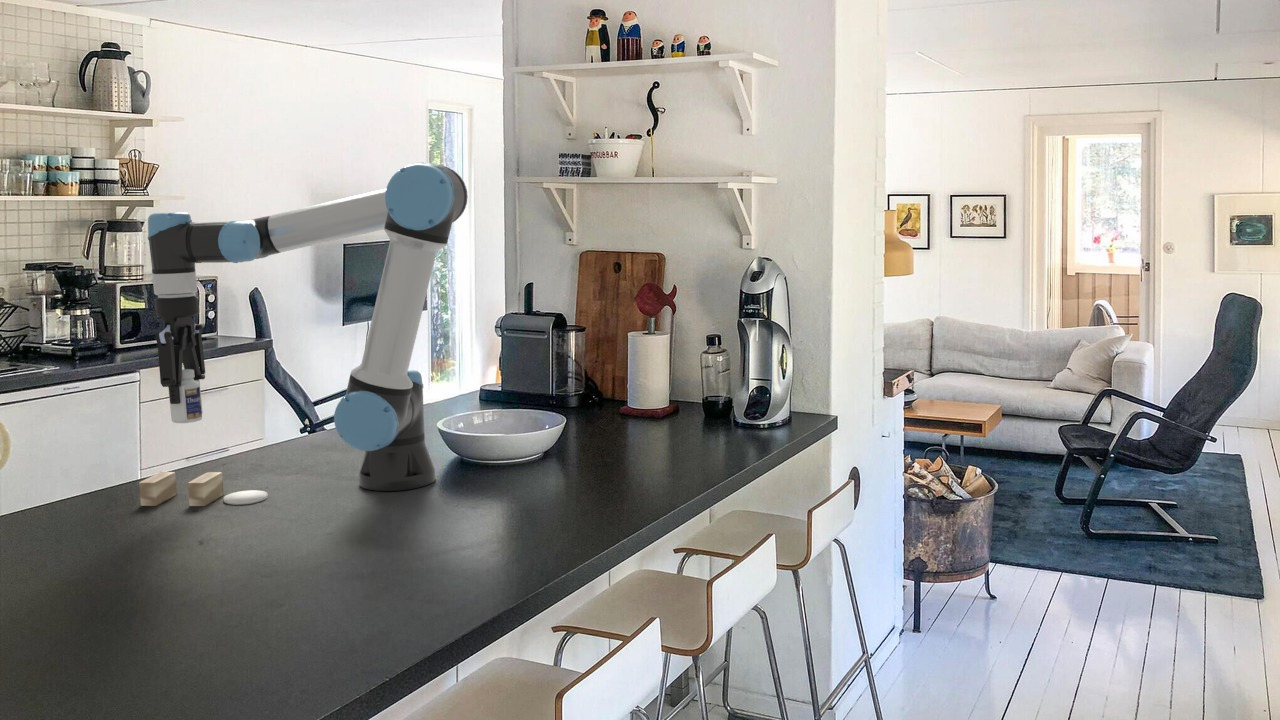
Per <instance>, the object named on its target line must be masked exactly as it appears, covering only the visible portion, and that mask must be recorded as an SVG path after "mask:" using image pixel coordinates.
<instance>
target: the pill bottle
mask: <svg viewBox="0 0 1280 720" xmlns="http://www.w3.org/2000/svg"><path fill="white" fill-rule="evenodd" d="M194 377H195V375H194V370H193V369H184V368H182V381H181V386H184V388H185V399H186V410H187V420H186V421H172V420H171V422H172V423H173V424H174V423H175V424H189V423H196V422H199V421H202V420H203V413H202V412H203V409H202V410H201V401H202V397H201V398H200V390H201V385H200V386H199V383H198V382H197V381H195V380H194Z"/></svg>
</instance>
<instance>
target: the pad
mask: <svg viewBox="0 0 1280 720" xmlns="http://www.w3.org/2000/svg"><path fill="white" fill-rule="evenodd" d="M268 498H269V496H268V492H267V491H264V490H257V489H255V490H253V489H252V490H249V489H248V490H241V491H236V492H235V491H234V492H231V493H229V494H226V495H225V496H224V495H223V503H225V504H227V505H233V506H234V505H236V506H239V505H240V506H241V505H242V506H243V505H251V504H256V503H259V502H262V501H265V500H267V499H268Z"/></svg>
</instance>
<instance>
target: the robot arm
mask: <svg viewBox="0 0 1280 720" xmlns="http://www.w3.org/2000/svg"><path fill="white" fill-rule="evenodd" d="M468 197H469V196H468V189H467V186H466V183H465V181H464V180H463V178H462V177H461V176H460V174H459V173H458V172H457V171H455V170H454V169H452V168H450V167H448V166H445V165H439V164H432V163H427V162H416V163H411V164H409V165H406V166H404V167H402V168H400V169H398V170H397V171H396V172H395V173H394V174H393V175H392V176H391V177H390V179H389V181H388V183H387V185H386V188H383V189H379V190H375V191H371V192H367V193H362V194H357V195H353V196H348V197H344V198H340V199H336V200H331V201H327V202H322V203H320V204H319V203H318V204H314V205H309V206H306V207H302V208H297V209H293V210H288V211H284V212H280V213H276V214H272V215H266V216H261V217H257V218H253V219H248V220H231V221H212V222H196V221H195V222H193V220H192V218H191V214H190V213H189V212H184V211H183V212H155V213H152V214H150V215H149V216H148V218H147V234H148V235H147V240H148V245H149V253H150V261H151V273H152V279H151V283H152V284H153V294H154V295H155V296H157V297H156V298H155V299H154V309H155V316H156V317H157V318H160V319H163V325H162V327H163V329H162V331H157V332H155V334H154V336H155V337H154V338H155V341H156V344H157V354H158V366H159V367H158V368H159V378H160V379H159V380H160V385H161V386H162V387H163V388H168V397H169V407H170V409H169V410H170V420H171V422H172V421H186V420H187V410H186V399H185V388H184V386H181V381H182V369H193V370H194V375H195V377H194V380H195V381H197V382H198V383H199V386H200V387H201V382H200V381H201V380H205V378H206V375H205V374H206V366H205V365H206V364H205V356H204V346H203V337H202V335H203V334H202V333H203V325H202V324H199V323H198V324H197V323H195V322H194V319H193V317H195V316H197V315H199V313H200V306H199V297H198V296H197V295H195V294H196V293H197V292H198V282H197V275H196V274H197V271H196V264H205V263H207V264H208V263H214V264H215V263H216V264H217V263H233V264H239V263H247V262H252V261H254V260H257V259H264V258H267V257H269V256H272V255H277V254H280V253H284V252H289V251H294V250H298V249H302V248H306V247H313V246H315V245H320V244H325V243H329V242H330V243H331V242H334V241H338V240H342V239H347V238H351V237H357V236H360V235H365V234H369V233H374V232H379V231H383V230H384V232H385V233H386V235H387V237H388V238H389V242H388V243H389V244H388V248H387V253H386V256H385V257H386V258H385V260H384V265H383V266H384V267H383V269H382V274H381V277H380V282H379V287H378V291H377V295H376V299H375V305H374V308H373V312H372V317H371V321H370V326H369V329H368V334H367V338H366V343H365V347H364V351H363V356H362V360H361V364H360V365H357V366H355V368H353V369H351V371H350V375H349V379H348V383H347V388H346V392H345V395H344V396H343V397H341V399H340V401H339V402H338V403H337V405H336V407H335V410H334V413H333V415H334V416H333V422H334V427H335V430H336V432H337V434H338V435H339V437H340V438H341V440H343V442H344V443H346V444H347V445H348V446H350V447H351V448H353V449H356V450H359V451H364V453H363V456H362V457H363V458H362V462H361V464H360V468H359V471H358V484H359V486H360V487H361V488H363V489H366V490H369V491H376V492H379V491H380V492H386V491H387V492H392V491H395V492H398V491H405V490H412V489H413V490H414V489H419V488H422V487H425V486H428V485H430V484H432V483H434V482H435V481H436V471H435V470H436V468H435V465H434V463H433V461H432V458H431V455H430V452H429V450H428V447H427V444H426V440H425V437H426V436H425V435H426V434H425V416H424V415H425V413H424V384H423V378H422V373H420V372H419V371H418V370H414V369H413V370H412V369H409V367H410V363H411V359H412V355H413V353H414V352H413V351H414V348H415V344H416V339H417V335H418V331H419V326H420V322H421V318H422V313H423V311H424V310H423V309H424V305H425V301H426V297H427V293H428V288H429V285H430V281H431V276H432V273H433V272H432V271H433V267H434V263H435V259H436V255H437V252H438V251H439V250H442V249H443V248H444V247H446V246H447V244H448V242H449V238H450V234H451V230H452V225H453V224H454V222H456V221H457V220H458V219H459V218H460V217H462V215H463V214H464V211H466V208H467V205H468ZM200 398H201V399H202V392H201V389H200ZM202 402H203V400H201V410H202V414H203V403H202Z"/></svg>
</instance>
